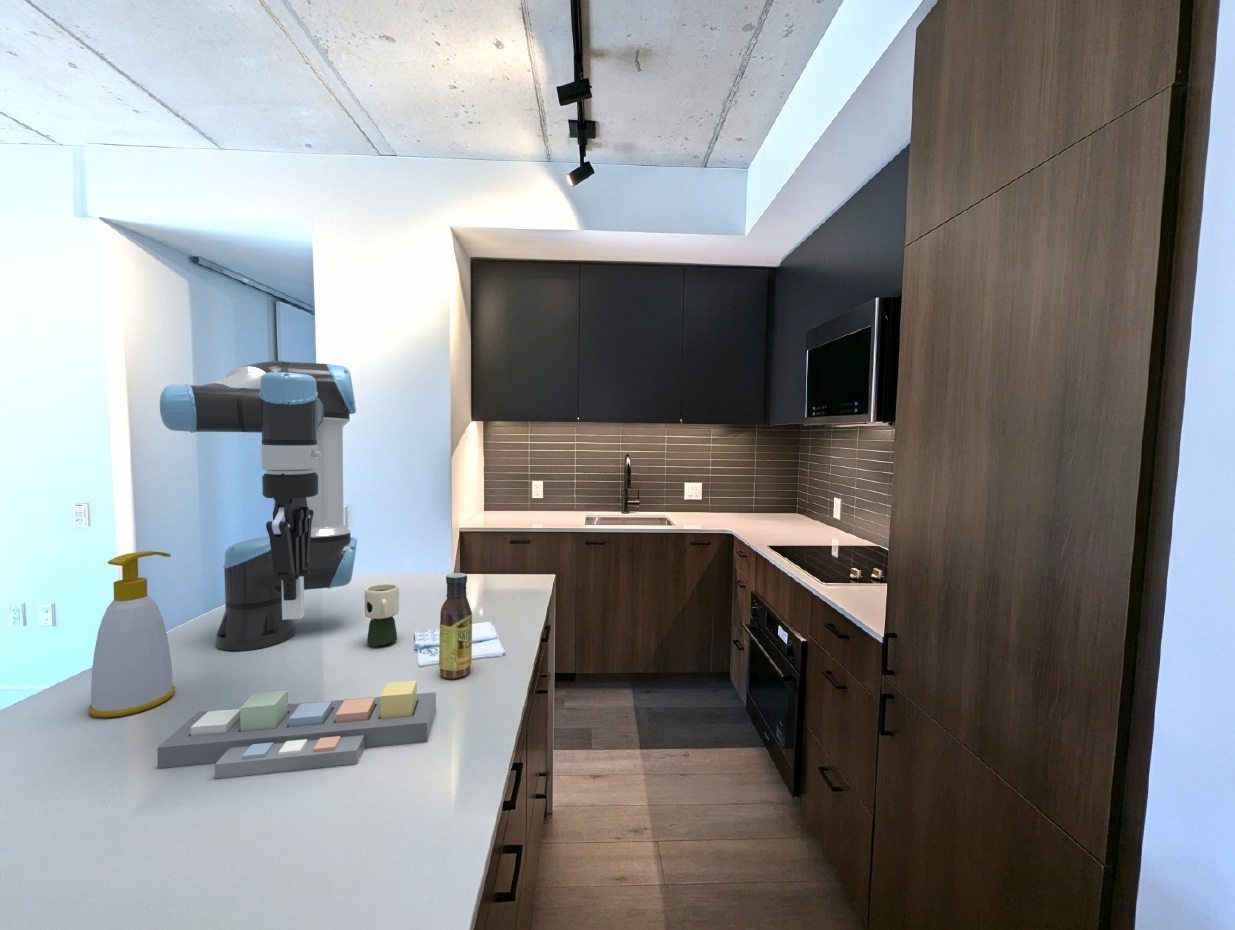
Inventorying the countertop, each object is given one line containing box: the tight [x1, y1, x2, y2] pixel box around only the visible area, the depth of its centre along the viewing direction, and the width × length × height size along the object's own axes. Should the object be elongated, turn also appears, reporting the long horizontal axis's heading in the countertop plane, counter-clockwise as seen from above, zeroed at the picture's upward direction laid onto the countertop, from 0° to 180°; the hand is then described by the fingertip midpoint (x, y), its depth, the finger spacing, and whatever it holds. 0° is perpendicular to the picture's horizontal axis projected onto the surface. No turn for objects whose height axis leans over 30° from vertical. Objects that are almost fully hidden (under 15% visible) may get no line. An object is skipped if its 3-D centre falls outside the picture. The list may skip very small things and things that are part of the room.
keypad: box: [156, 691, 437, 780], centre depth 80 cm, size 14×36×3 cm, turn 102°
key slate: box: [289, 700, 333, 727], centre depth 82 cm, size 5×5×4 cm
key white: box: [191, 708, 240, 736], centre depth 79 cm, size 5×5×4 cm
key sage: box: [239, 690, 289, 732], centre depth 80 cm, size 5×5×4 cm
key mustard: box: [380, 680, 418, 719], centre depth 84 cm, size 5×5×4 cm
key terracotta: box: [335, 697, 375, 723], centre depth 83 cm, size 5×5×4 cm
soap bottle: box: [88, 550, 176, 718], centre depth 91 cm, size 11×12×26 cm
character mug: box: [364, 583, 400, 647], centre depth 119 cm, size 11×7×13 cm, turn 30°
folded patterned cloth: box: [413, 621, 507, 668], centre depth 119 cm, size 19×20×2 cm
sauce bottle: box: [438, 572, 473, 680], centre depth 104 cm, size 7×6×20 cm
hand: (293, 617), depth 84 cm, fingers closed
